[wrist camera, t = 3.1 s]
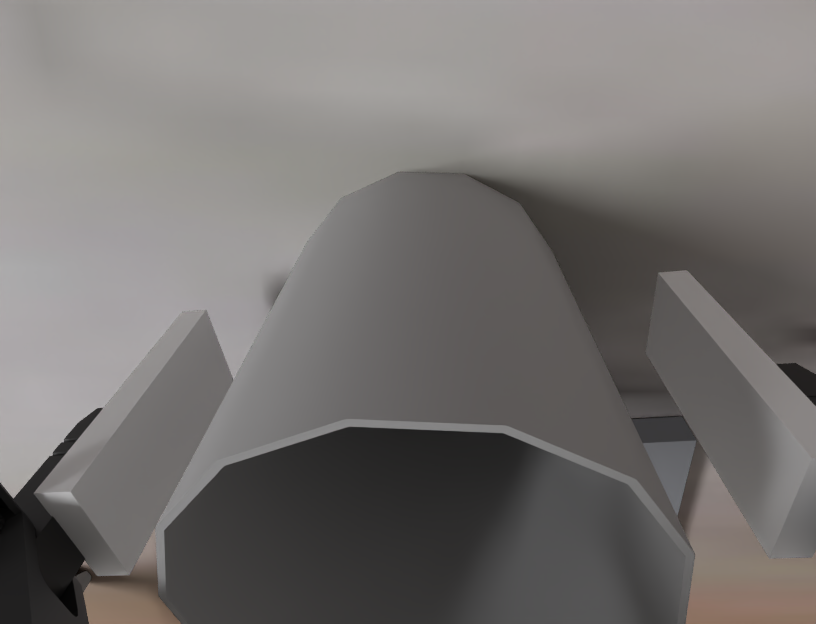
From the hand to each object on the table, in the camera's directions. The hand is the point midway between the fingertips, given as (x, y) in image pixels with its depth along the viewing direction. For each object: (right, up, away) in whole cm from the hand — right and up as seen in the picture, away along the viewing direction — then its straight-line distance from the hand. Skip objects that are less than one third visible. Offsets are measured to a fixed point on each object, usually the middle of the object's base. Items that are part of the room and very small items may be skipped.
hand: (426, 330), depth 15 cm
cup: (0, +1, +2) cm, 2 cm away
